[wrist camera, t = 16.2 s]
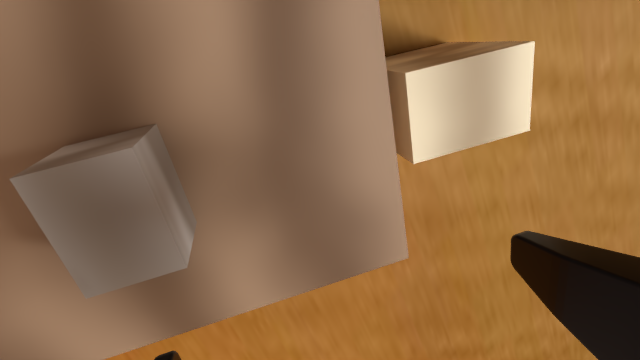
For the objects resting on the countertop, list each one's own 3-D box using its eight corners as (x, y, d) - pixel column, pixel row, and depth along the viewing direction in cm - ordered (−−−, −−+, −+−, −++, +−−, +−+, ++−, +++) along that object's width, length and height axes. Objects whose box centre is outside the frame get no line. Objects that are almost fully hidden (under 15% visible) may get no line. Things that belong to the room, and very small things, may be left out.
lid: (356, -85, 12) (413, -145, 8) (399, 246, 17) (443, 299, 14) (-357, 43, 9) (-762, 41, 5) (-29, 386, 15) (-115, 499, 11)
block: (447, 42, 20) (534, 40, 14) (450, 107, 22) (529, 130, 16) (353, 64, 19) (405, 73, 14) (363, 130, 21) (413, 163, 15)
